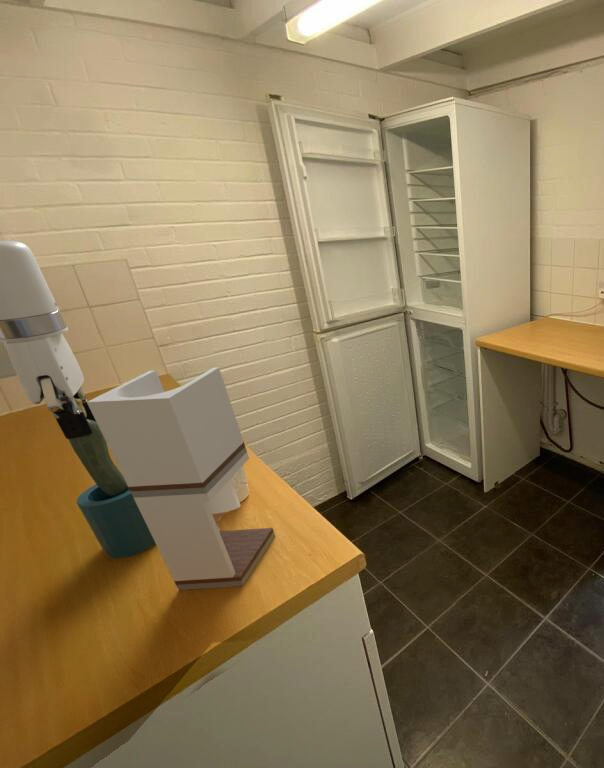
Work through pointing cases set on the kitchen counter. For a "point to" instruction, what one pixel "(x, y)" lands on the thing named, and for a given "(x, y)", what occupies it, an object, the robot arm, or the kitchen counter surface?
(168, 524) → the white coffee maker
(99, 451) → the vegetable
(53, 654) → the kitchen counter surface
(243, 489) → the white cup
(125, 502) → the jar
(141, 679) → the kitchen counter surface
